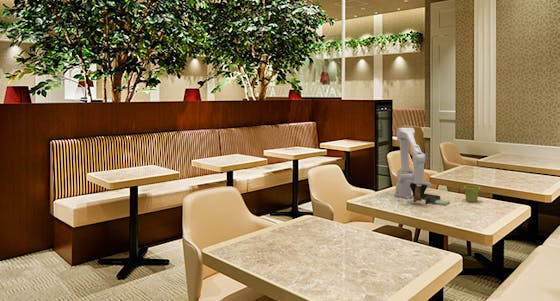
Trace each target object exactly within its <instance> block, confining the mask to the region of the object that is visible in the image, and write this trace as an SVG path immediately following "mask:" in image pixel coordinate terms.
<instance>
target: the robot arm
mask: <svg viewBox="0 0 560 301" xmlns="http://www.w3.org/2000/svg"><path fill="white" fill-rule="evenodd" d="M396 141H397V142H399V152H400V164H401V167H400V168H399V169H398V170H397V174H396V175H397V176H396V178H397V182H396V184H395V193H394V196H395V197H399V198H405V199H410V198H413V196H415V186H420V190H421V198H422V197H423V195H424V193H425V192H426V191H427V188H428V187H431V186H432V182H428V181H425V164H426V162H427V155H426V154H425V153H424V152H422V150H421V148H420V145H419V144H417V142H416V140H415V128H414V127H398V128H397V130H396ZM409 146H410V147H409ZM409 150H410V154H411V156H412V159H411V160H412V166H413V168H411V167H410V156H409Z"/></svg>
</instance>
